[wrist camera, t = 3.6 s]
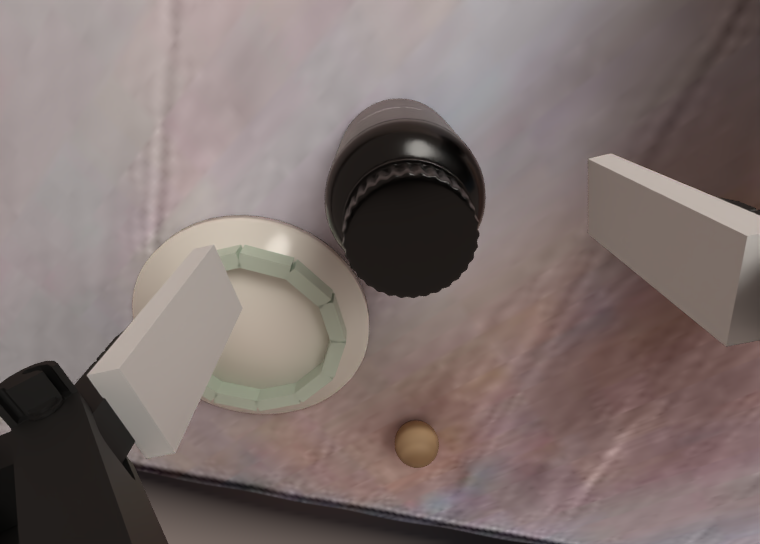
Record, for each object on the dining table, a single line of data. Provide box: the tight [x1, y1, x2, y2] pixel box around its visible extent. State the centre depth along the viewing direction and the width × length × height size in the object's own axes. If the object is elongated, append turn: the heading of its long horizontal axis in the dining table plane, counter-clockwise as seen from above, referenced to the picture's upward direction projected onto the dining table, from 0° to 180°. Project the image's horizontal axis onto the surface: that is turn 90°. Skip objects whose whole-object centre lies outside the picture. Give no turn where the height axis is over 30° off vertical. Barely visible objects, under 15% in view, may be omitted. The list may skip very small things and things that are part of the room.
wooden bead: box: [395, 420, 439, 468], centre depth 34 cm, size 4×4×4 cm
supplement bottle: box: [325, 99, 486, 298], centre depth 20 cm, size 7×7×12 cm
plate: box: [132, 215, 369, 414], centre depth 29 cm, size 16×16×2 cm
